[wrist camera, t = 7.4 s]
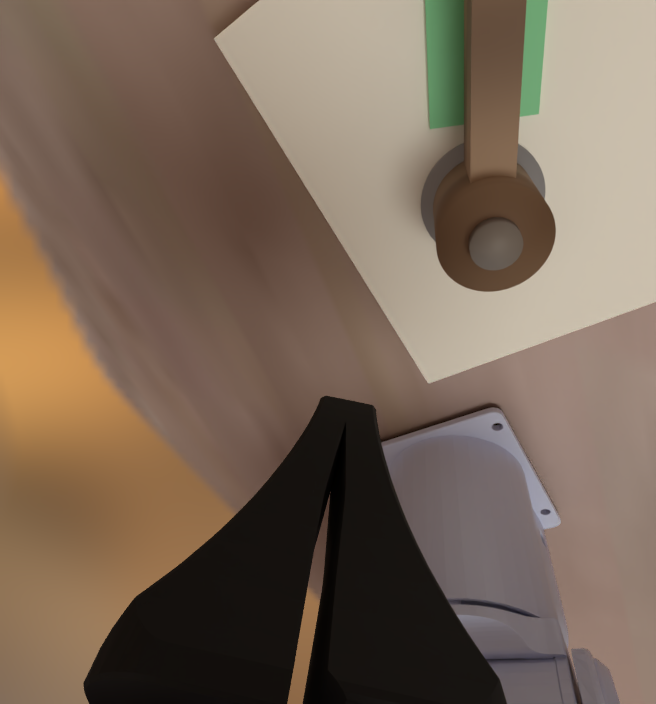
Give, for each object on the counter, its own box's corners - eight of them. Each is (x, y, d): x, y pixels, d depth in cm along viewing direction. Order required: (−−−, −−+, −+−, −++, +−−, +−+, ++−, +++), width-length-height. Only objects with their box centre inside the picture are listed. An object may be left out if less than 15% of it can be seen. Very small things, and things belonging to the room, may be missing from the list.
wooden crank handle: (530, 245, 17) (552, 294, 14) (434, 254, 17) (438, 301, 15) (567, -200, 11) (618, -268, 8) (419, -161, 11) (421, -212, 9)
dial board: (1053, 126, 14) (1120, 139, 13) (427, 363, 23) (428, 386, 21) (1170, -749, 8) (1333, -911, 6) (228, 35, 16) (211, 39, 15)
